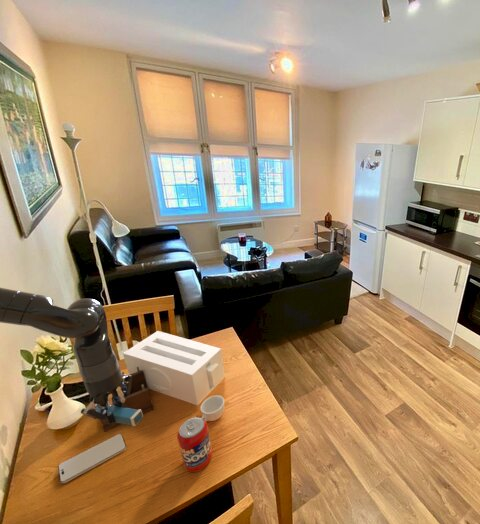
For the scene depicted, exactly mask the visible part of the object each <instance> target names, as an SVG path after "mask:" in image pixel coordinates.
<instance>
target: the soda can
mask: <svg viewBox="0 0 480 524" xmlns="http://www.w3.org/2000/svg"><path fill="white" fill-rule="evenodd" d="M177 442H178V446H179V450H180V454H181V459H182V463H183V467H184V469H185V471H187V472H190V473H195V472H196V473H197V472H200V471H201V470H203V469H204V468H206V467H207V466H208V465H209V464H210V462H211V460H212V458H213V448H212V442H211V437H210V431H209V426H208V423H207V421H204V418H203V419H202V418H201V417H199V416H194V417H191V418H188V419H186V420H185V421H184V422H183V423H182V424H181V425H180V427H179V429H178V431H177Z"/></svg>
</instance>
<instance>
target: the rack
mask: <svg viewBox="0 0 480 524" xmlns="http://www.w3.org/2000/svg"><path fill="white" fill-rule="evenodd" d="M137 371H138V372H136V373H133V374H130V376H132V383H131V390H130V395H129V396H127V397H126V398H125V404H126V408H129V409H135V410H139V409H140V410H141V411H142V414H143V416H144V415H146V414H148V413H150V412H152V411H155V408H154V404H153V401H152V397H151V394H150V389H148V387H147V384H146V380H145V376H144V372H143V370H141V371H140V370H139V367H137ZM121 374H122V375H126V374H125V371H121ZM124 391H126V388H125V389H124ZM115 403H116V402H114V400H112V404H113V406H115ZM100 422H101V425H102V430H103V432H104V433H106V432H108V431H110V430H112V429H115V428H117V427H120V426H122V424H121V423H116V422H115V423H114V424H106V423H105V422H104V420H100Z"/></svg>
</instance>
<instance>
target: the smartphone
mask: <svg viewBox="0 0 480 524" xmlns="http://www.w3.org/2000/svg"><path fill="white" fill-rule="evenodd" d="M125 450H127V444H126V442H125V439H124V437H123V434H122V433H118V434H116V435H113V436H111V437H110V438H108V439H106V440H104V441H102V442H99V443H98V444H95V445H94V446H91V447H89V448H88V449H86V450H84V451H81V452H80V453H78V454H76V455H74V456H71V457H70V458H68V459H65V460H64V461H62V462H60V463H59V465H58V467H57V469H58V476H59V481H60V483H61V484H66V483H68V482H70V481H71V480H74V479H76V478H77V477H79V476H80V475H83V474H85V473H87V472H89V471H91V470H93V469H94V468H95V467H97V466H99V465H101V464H103V463H105V462H106V461H108V460H110V459H112V458H114V457H116V456H117V455H120V454H121V453H123V452H125Z"/></svg>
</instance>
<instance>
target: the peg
mask: <svg viewBox="0 0 480 524" xmlns="http://www.w3.org/2000/svg"><path fill="white" fill-rule="evenodd" d="M95 407H96V409H97V412H99V413H100V411H99V408H98V407H97V404H96V405H95ZM111 409H112V413H113V415H114V418H115V421H116V423H121V425H128V426H132V427H136V426H137V425H138V424H139V423H140V421H142V420H143V418H144V415H143V414H142V411H141V410H140V409H139V410H135V409H129V408H123V407H118V406H112V407H111ZM89 419H93V418H91V417H89Z"/></svg>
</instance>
